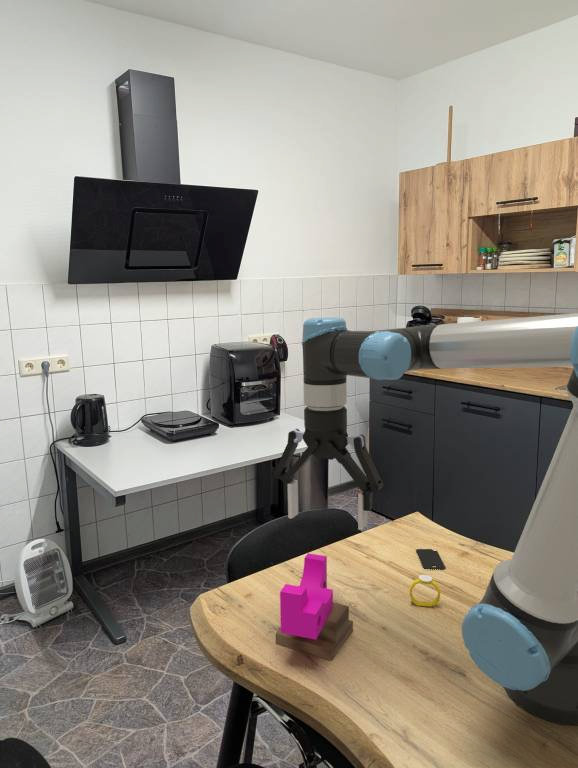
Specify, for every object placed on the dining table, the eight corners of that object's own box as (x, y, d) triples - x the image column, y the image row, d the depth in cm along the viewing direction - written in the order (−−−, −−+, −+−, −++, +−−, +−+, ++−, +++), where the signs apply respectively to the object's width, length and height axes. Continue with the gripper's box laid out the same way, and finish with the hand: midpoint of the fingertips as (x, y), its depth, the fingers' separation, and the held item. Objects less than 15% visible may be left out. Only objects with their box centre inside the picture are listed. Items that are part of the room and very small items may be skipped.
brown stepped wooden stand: (352, 630, 110) (352, 601, 109) (331, 660, 101) (331, 628, 100) (300, 616, 115) (300, 587, 114) (275, 643, 106) (275, 613, 105)
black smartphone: (436, 549, 142) (446, 568, 132) (436, 551, 142) (446, 571, 133) (415, 549, 142) (423, 568, 133) (415, 551, 143) (423, 571, 133)
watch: (438, 603, 119) (441, 576, 118) (439, 611, 116) (442, 583, 115) (408, 599, 120) (411, 572, 119) (408, 606, 118) (411, 579, 116)
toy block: (316, 639, 97) (315, 597, 96) (280, 632, 99) (280, 591, 98) (339, 594, 111) (339, 557, 110) (308, 589, 113) (307, 553, 112)
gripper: (400, 406, 100) (400, 524, 104) (272, 398, 111) (275, 504, 115) (388, 415, 94) (387, 540, 97) (253, 405, 105) (256, 518, 108)
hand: (327, 521), depth 106 cm, fingers open, 13 cm apart
